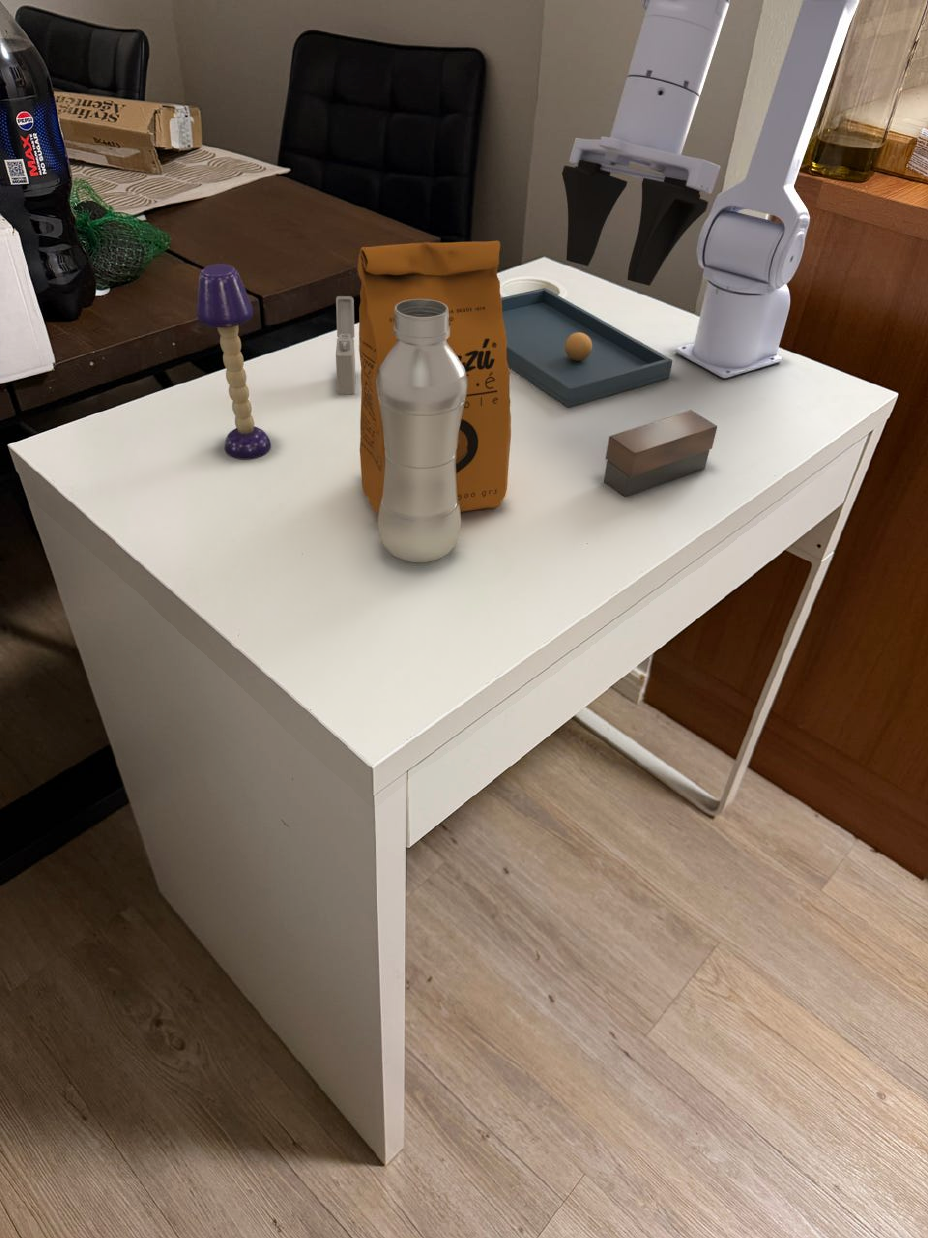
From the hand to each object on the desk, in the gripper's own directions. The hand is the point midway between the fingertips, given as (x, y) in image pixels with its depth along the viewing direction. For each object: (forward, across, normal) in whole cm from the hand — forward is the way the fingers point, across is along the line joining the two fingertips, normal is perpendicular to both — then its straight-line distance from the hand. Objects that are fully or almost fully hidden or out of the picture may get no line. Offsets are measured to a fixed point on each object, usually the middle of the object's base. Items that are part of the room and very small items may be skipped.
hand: (606, 272), depth 75 cm
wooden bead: (+9, -18, +17) cm, 26 cm away
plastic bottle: (+24, +2, -13) cm, 27 cm away
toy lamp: (+24, -20, -19) cm, 36 cm away
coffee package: (+22, -4, -8) cm, 24 cm away
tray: (+10, -22, +17) cm, 30 cm away
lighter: (+18, -28, -5) cm, 33 cm away
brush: (+16, +3, +10) cm, 19 cm away
